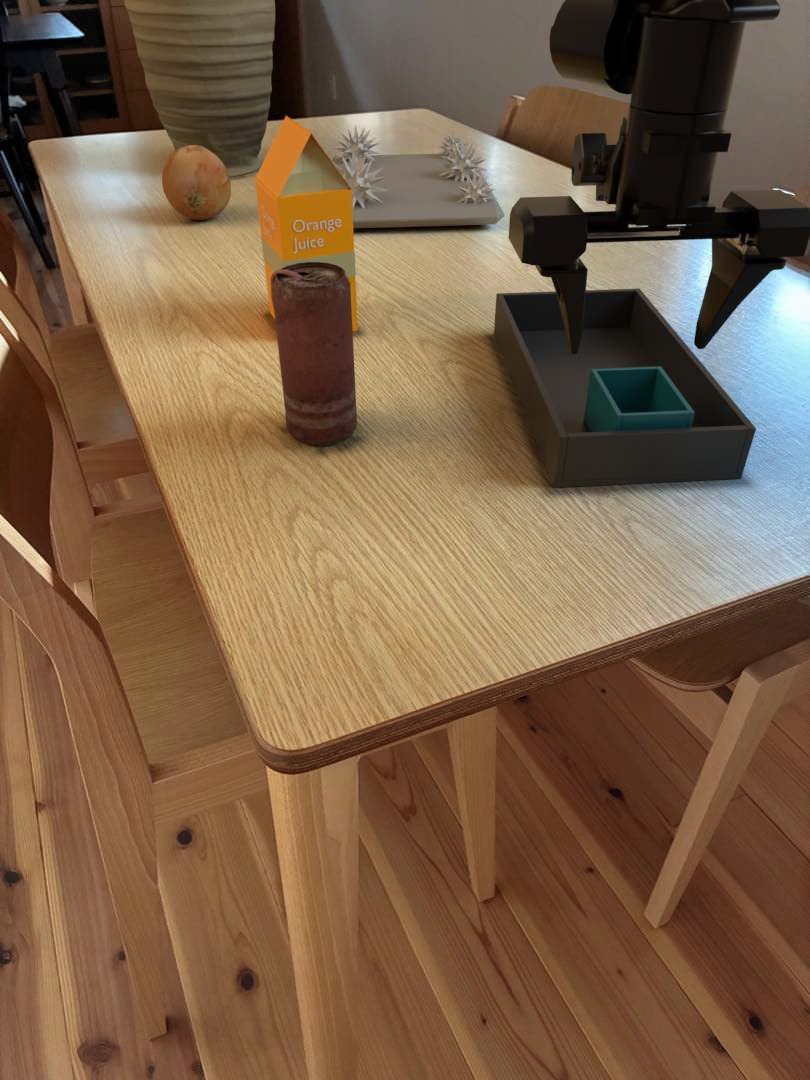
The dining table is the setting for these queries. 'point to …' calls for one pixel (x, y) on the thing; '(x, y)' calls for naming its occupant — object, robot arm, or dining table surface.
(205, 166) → the onion
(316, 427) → the soda can
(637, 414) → the teal bin
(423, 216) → the decorative tray
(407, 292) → the dining table surface
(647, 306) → the tray
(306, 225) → the orange juice
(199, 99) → the vase
